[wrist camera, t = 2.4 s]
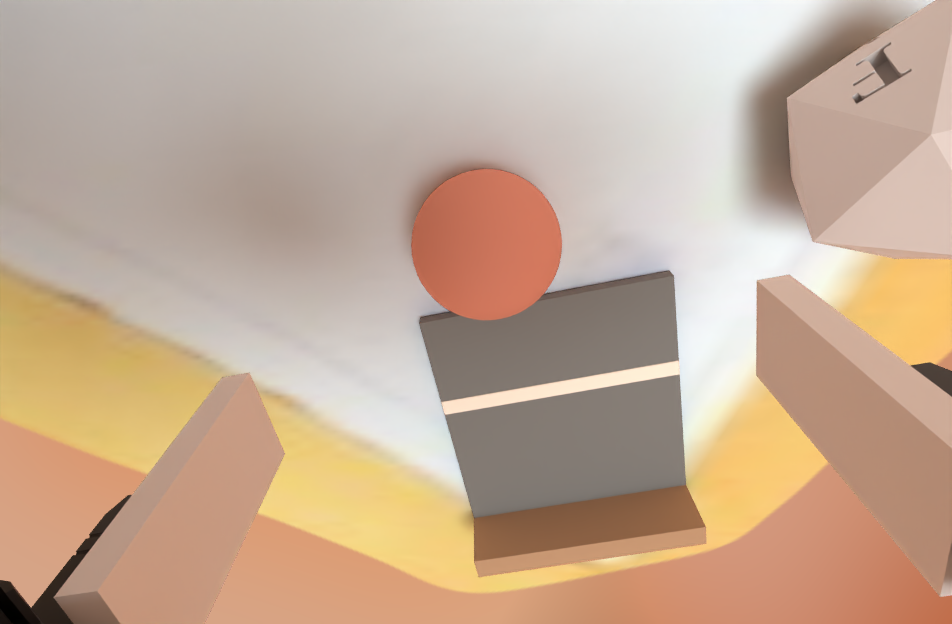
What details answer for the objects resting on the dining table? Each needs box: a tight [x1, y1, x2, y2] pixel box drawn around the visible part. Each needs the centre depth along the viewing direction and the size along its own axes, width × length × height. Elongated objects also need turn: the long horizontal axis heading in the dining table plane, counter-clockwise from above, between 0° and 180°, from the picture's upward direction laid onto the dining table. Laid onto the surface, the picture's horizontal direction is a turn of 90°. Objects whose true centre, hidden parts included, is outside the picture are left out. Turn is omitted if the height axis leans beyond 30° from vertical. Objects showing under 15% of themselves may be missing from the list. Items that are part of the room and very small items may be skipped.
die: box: [787, 0, 952, 259], centre depth 20 cm, size 8×9×10 cm
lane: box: [419, 271, 706, 577], centre depth 29 cm, size 14×12×4 cm
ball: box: [411, 169, 562, 320], centre depth 23 cm, size 6×6×6 cm
